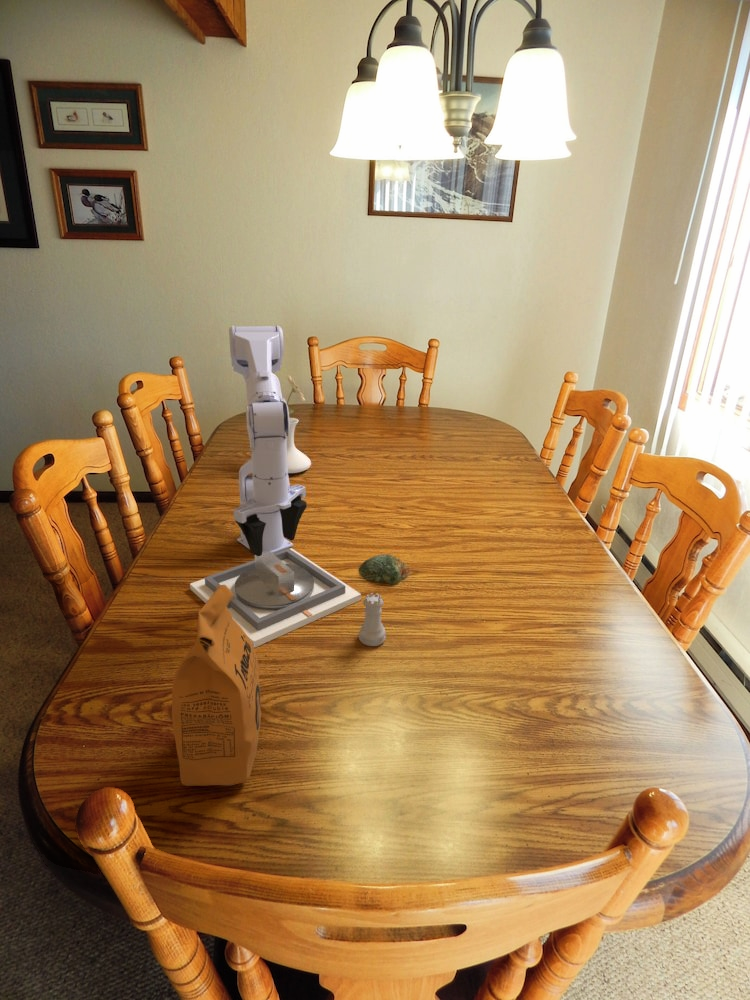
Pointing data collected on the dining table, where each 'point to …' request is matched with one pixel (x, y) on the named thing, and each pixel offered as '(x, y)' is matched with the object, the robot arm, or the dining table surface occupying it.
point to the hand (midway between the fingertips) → (273, 546)
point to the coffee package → (217, 700)
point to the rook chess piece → (372, 622)
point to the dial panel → (281, 621)
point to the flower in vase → (294, 456)
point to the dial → (273, 583)
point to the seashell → (384, 569)
